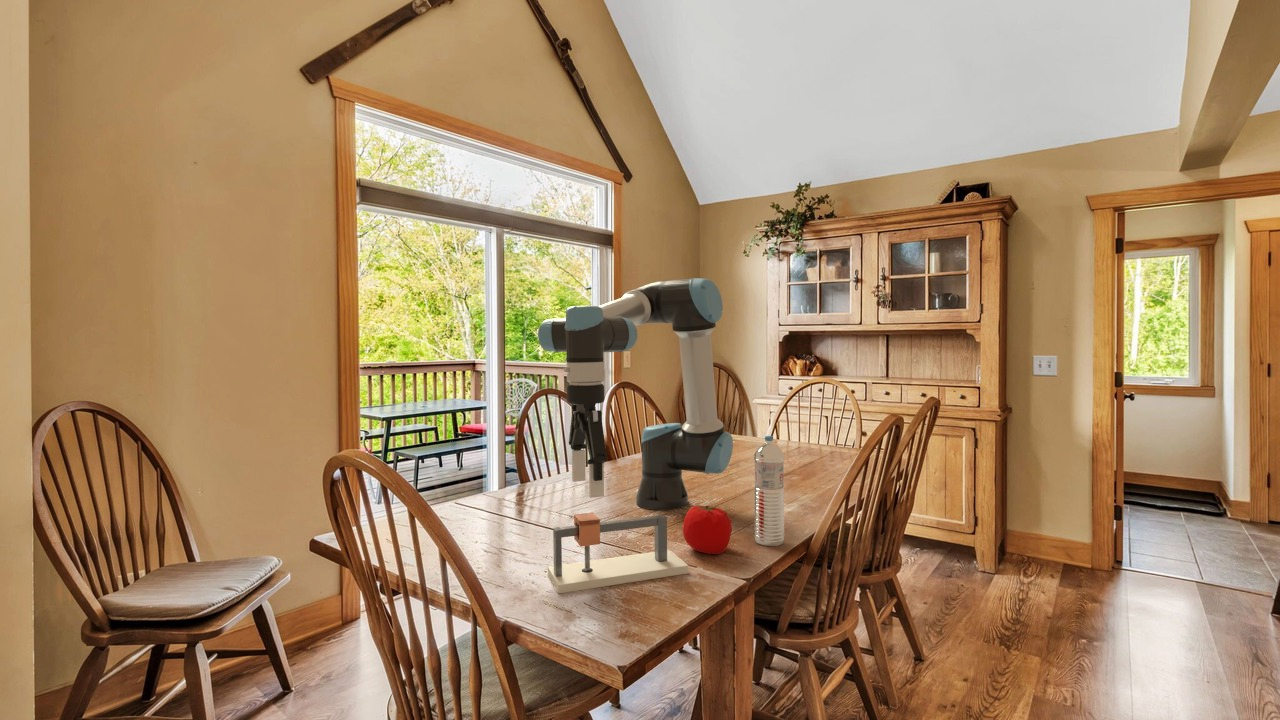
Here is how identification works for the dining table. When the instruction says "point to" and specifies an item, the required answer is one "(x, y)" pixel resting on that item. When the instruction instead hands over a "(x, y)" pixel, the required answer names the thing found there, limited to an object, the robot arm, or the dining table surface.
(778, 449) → the water bottle
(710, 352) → the robot arm
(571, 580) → the hole board
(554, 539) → the grey slider rail frame
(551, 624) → the dining table surface
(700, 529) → the tomato
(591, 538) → the slider sleeve
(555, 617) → the dining table surface
